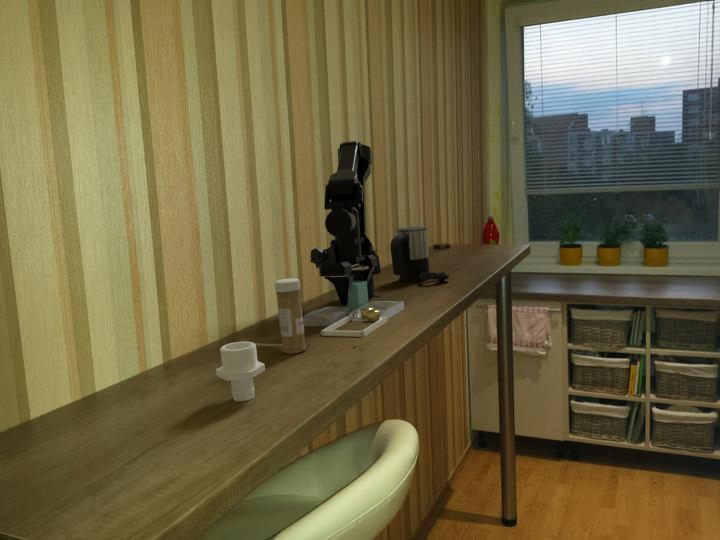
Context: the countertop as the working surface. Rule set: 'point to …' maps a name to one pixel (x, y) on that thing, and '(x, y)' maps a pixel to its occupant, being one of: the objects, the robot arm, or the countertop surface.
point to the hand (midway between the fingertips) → (352, 303)
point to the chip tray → (332, 332)
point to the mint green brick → (357, 295)
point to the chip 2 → (373, 315)
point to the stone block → (325, 316)
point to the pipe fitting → (240, 368)
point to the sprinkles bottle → (290, 315)
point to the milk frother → (412, 255)
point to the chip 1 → (365, 311)
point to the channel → (385, 306)
